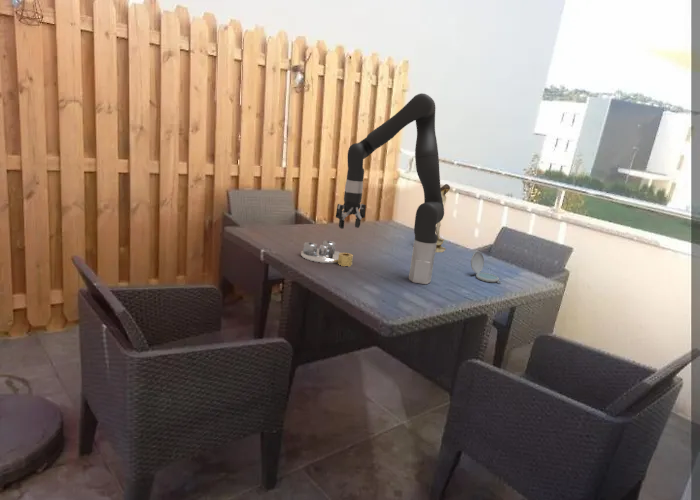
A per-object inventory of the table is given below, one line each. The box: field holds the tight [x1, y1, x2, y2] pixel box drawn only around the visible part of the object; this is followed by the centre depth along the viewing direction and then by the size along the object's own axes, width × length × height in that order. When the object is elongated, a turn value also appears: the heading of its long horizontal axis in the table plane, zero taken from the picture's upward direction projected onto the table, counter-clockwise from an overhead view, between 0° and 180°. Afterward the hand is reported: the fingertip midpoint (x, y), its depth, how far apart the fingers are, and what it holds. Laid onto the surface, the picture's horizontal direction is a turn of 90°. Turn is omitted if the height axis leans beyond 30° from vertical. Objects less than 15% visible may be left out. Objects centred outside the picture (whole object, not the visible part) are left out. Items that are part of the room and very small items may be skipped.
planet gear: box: [337, 252, 354, 267], centre depth 208 cm, size 6×6×4 cm
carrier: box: [300, 240, 341, 264], centre depth 215 cm, size 20×20×6 cm
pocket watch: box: [470, 251, 503, 284], centre depth 209 cm, size 10×11×15 cm
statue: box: [412, 183, 451, 253], centre depth 252 cm, size 17×17×35 cm
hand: (349, 227), depth 205 cm, fingers open, 8 cm apart
